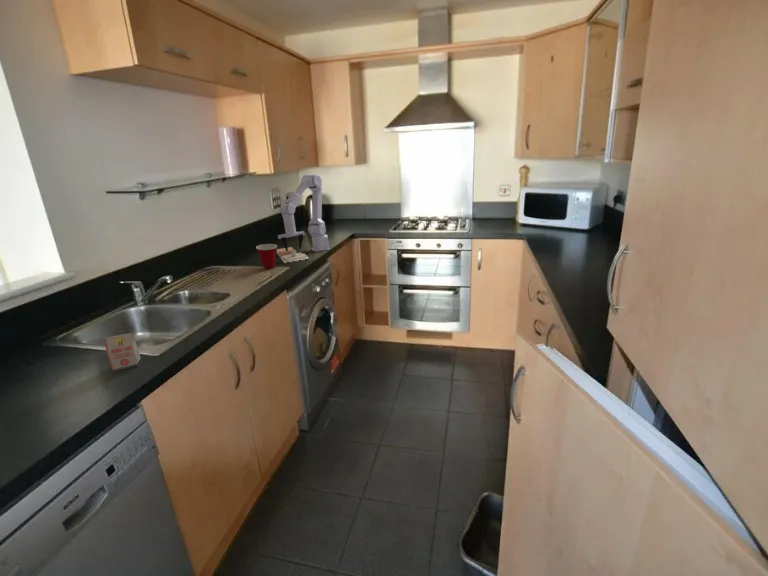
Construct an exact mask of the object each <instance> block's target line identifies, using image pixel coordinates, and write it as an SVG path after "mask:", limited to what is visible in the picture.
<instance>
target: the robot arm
mask: <svg viewBox="0 0 768 576" xmlns="http://www.w3.org/2000/svg"><path fill="white" fill-rule="evenodd" d="M322 181H323V180H322V178H321V176H320V175H319V174H304V175H302V177H301V179H300V183H299V185H298V187H297V188H296V190H295V192H293V193H290V194H289V196H288V198H287V199H286V200H285V202H284V203H282V204H281V206H280V207H279V212H280V214H281V217H282V219H283V224H284V231H285V233H281V234H278V235H277V238H278V239H279V240H280V242H281V243H282V244H283V246H284V248H285V249H286V251H288V248H289V247H288V244H287V238H293V237H297V242H298V243H297V244H298V249H300V250H301V249H302V244H303V240H304V236H305V235H306V234H305V231H304V230H301V231H297V227H296V222H295V221H296V220H295V215H294V214H295V212H296V207H297V205H298V204H299V202H300V201H301V196H302V195H303V194H304V192H305V191H306V190H307V189H309V190H310V192H311V193H312V194H311V195H312V199H311V201H312V202H311V209H312V210H311V219H310V220H309V222H308V227H307V232H308V234H310V237H311V243H312V248H311V250H312V251H313V252H314V253H315V251H316V252H322V251H328V250H330V244H329V243H330V242H329V238H328V234H326V233H327V232H326V231H327V229H326V222H325V221H324V220H323V219H322V209H323V207H322V204H323V203H322V202H323V201H322V200H323V199H322V198H323V197H322V195H323V188H322V185H323V184H322Z"/></svg>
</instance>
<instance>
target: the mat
mask: <svg viewBox="0 0 768 576" xmlns="http://www.w3.org/2000/svg"><path fill="white" fill-rule="evenodd" d="M303 254H304V255H306V253H304V252H303ZM306 256H307V258H303V259H297V260H292V261H287V260H285V259H284V258H282V257H280V260H281V261H282V263H283V264H288V263H287V262H289V263H294V262H293V261H295V262H300V261H299V260H301V261H306V260H305V259H308V258H309V257H308V255H306ZM308 260H309V259H308Z"/></svg>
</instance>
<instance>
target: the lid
mask: <svg viewBox="0 0 768 576" xmlns="http://www.w3.org/2000/svg"><path fill="white" fill-rule="evenodd" d="M307 257H308V255H307V256H306V255H304V253H302V252H297V250H296V249H294V250H291V254H289V255H284V256H282V258H284V259H285V260H287V261H292V260H297V259H303V258H307Z"/></svg>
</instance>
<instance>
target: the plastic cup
mask: <svg viewBox="0 0 768 576" xmlns="http://www.w3.org/2000/svg"><path fill="white" fill-rule="evenodd" d="M277 247H278V244H275V243H274V244H273V243H265V244H263V243H262V244H258V245H256V247H255V249H256V251H257V253H258V255H259V258H260V261H261V263H262V266H263V268H266V269H265V270H270V269H269V268H273V269H275V268H276V260H277V259H276V258H277V257H276V255H277V249H278V248H277ZM274 267H275V268H274Z"/></svg>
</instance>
